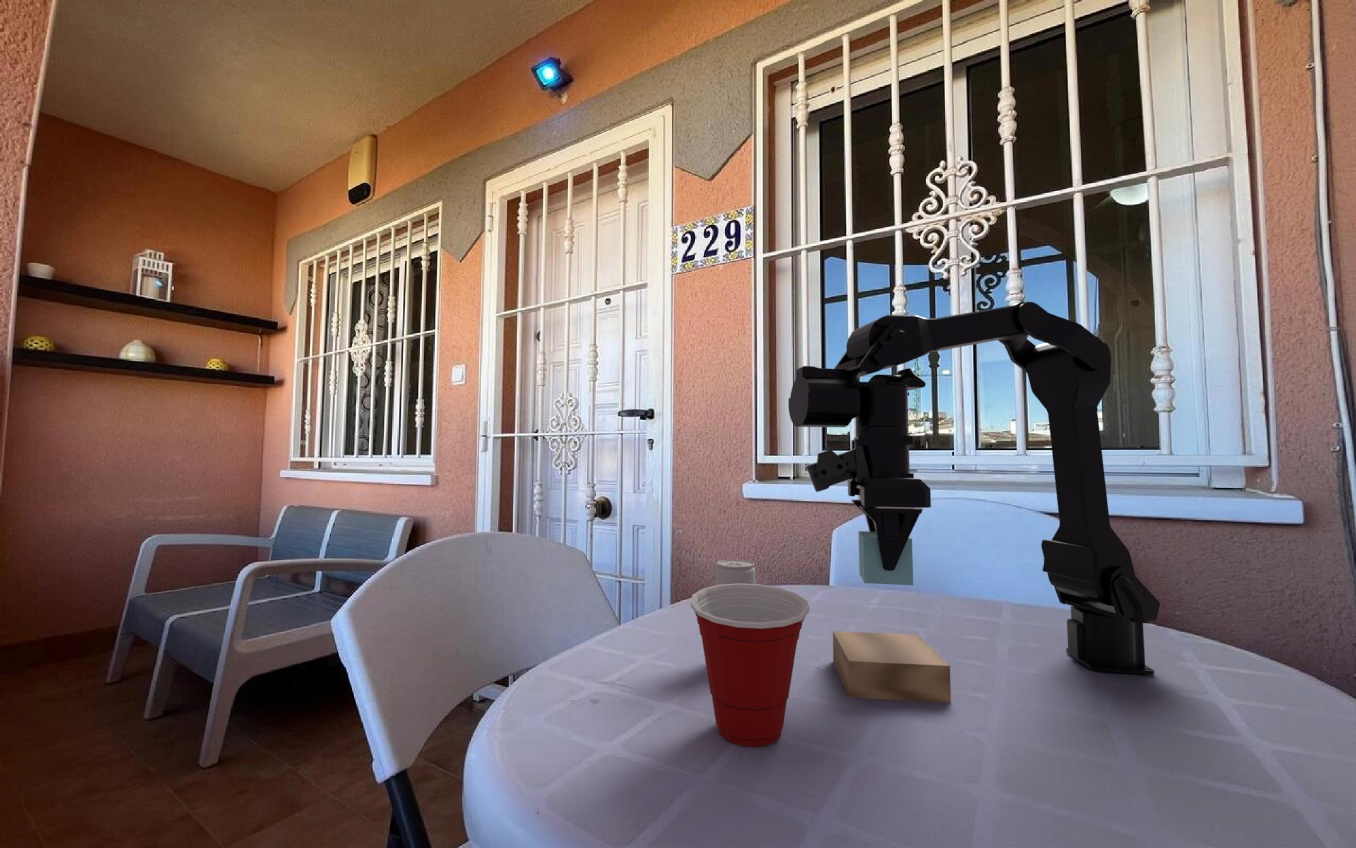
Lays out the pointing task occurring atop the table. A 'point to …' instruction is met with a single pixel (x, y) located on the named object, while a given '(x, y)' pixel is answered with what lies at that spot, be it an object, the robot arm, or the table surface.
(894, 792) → the table surface
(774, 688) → the plastic cup
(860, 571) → the teal cube
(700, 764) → the table surface
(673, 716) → the table surface
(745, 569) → the beverage can
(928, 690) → the light brown wooden block
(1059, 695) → the table surface
